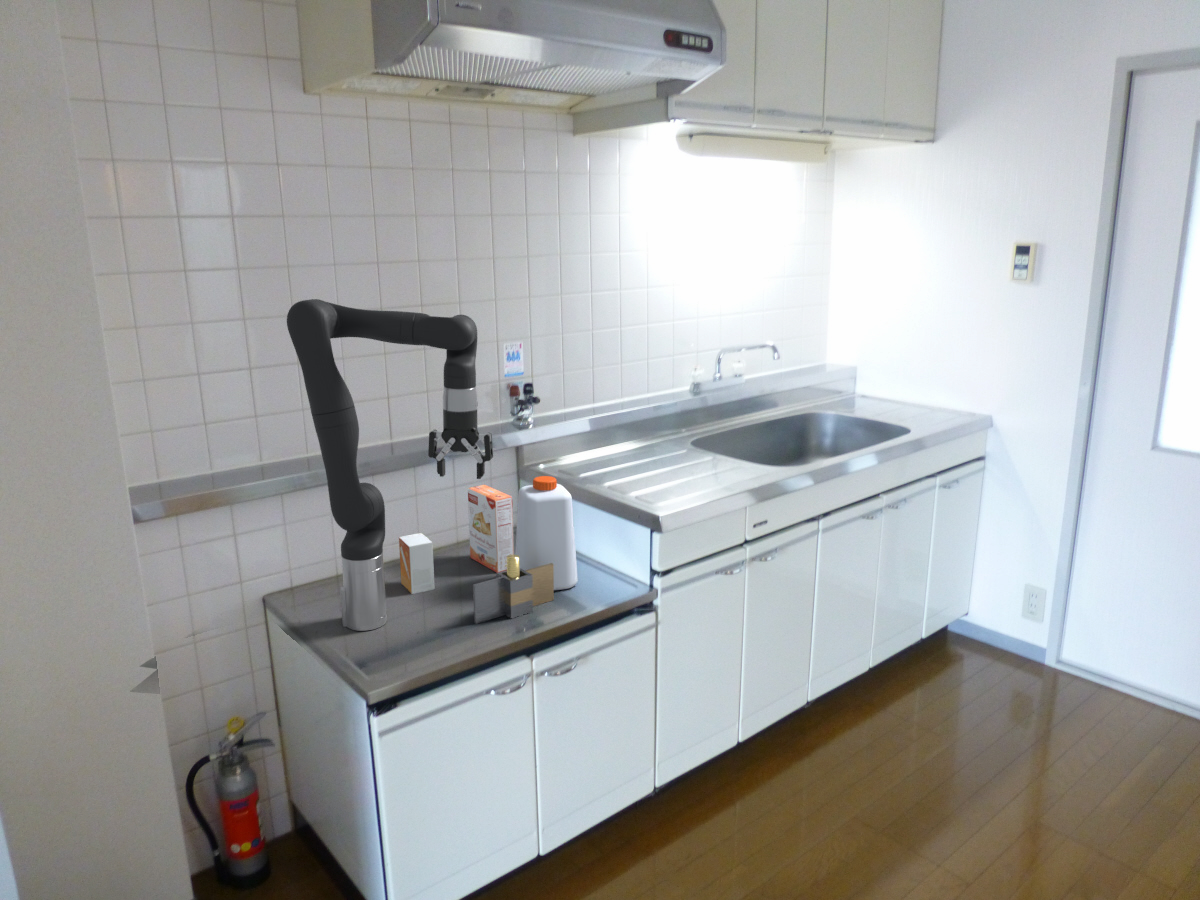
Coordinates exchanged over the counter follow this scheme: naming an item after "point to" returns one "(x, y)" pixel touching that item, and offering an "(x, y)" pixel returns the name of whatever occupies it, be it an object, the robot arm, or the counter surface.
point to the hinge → (513, 593)
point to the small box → (416, 563)
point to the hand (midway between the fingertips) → (461, 477)
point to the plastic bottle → (547, 530)
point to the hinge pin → (513, 566)
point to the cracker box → (490, 527)
